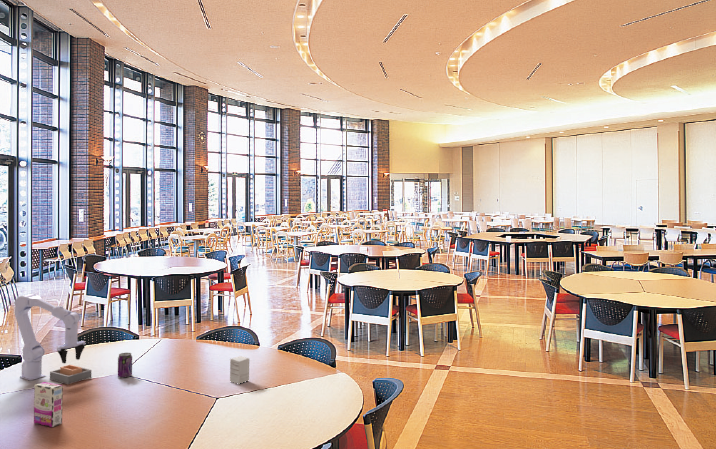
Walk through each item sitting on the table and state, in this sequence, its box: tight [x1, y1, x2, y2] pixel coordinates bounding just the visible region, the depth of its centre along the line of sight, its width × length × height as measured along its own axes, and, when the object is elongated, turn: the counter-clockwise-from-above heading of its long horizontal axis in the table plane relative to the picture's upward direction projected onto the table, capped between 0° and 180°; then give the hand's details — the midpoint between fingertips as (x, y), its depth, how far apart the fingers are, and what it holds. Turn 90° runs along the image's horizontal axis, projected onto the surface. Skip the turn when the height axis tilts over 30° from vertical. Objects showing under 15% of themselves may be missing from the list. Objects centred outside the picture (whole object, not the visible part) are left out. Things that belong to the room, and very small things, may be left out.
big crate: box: [49, 365, 92, 385], centre depth 270 cm, size 15×13×4 cm
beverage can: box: [117, 352, 133, 379], centre depth 276 cm, size 7×7×12 cm
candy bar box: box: [33, 381, 64, 428], centre depth 215 cm, size 11×5×16 cm, turn 69°
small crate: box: [59, 364, 83, 376], centre depth 270 cm, size 10×5×5 cm, turn 63°
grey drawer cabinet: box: [229, 355, 250, 385], centre depth 273 cm, size 7×7×13 cm
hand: (70, 361), depth 270 cm, fingers open, 7 cm apart
